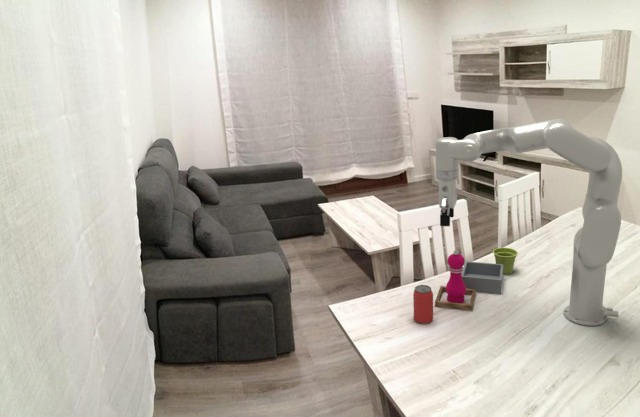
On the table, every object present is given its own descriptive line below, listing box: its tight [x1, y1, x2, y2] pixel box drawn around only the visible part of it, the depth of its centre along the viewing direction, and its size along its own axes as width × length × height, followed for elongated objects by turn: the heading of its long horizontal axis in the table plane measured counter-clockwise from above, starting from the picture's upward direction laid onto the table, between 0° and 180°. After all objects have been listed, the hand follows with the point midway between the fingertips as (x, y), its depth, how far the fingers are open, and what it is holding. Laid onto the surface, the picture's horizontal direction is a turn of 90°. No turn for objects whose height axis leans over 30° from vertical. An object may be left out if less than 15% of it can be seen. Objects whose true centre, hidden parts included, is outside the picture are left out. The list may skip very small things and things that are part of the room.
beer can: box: [412, 284, 434, 325], centre depth 166 cm, size 7×7×12 cm
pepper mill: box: [445, 250, 466, 304], centre depth 176 cm, size 7×7×20 cm
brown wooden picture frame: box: [434, 285, 477, 312], centre depth 178 cm, size 13×13×2 cm
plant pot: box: [492, 247, 519, 275], centre depth 197 cm, size 9×9×9 cm
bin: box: [462, 260, 504, 295], centre depth 188 cm, size 15×15×6 cm
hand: (447, 221), depth 170 cm, fingers open, 9 cm apart
